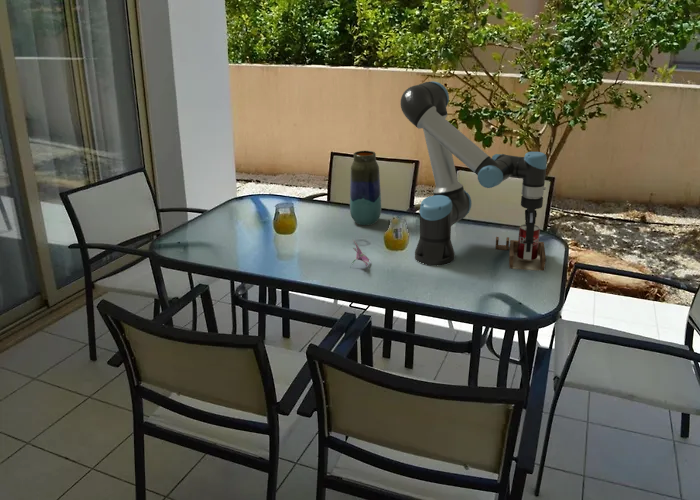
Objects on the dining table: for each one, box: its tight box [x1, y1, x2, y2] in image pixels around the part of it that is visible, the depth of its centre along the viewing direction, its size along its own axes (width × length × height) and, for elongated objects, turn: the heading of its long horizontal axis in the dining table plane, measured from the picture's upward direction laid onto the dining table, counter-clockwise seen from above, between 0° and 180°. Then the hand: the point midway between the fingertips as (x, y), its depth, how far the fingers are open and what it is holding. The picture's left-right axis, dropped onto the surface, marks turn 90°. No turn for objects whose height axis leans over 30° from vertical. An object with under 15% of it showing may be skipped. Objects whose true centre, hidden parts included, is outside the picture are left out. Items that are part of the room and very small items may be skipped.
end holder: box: [508, 239, 547, 272], centre depth 234 cm, size 12×15×5 cm
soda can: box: [517, 224, 541, 261], centre depth 231 cm, size 7×7×12 cm
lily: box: [352, 239, 370, 266], centre depth 233 cm, size 12×12×10 cm
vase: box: [349, 150, 382, 226], centre depth 272 cm, size 14×14×31 cm
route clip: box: [494, 236, 510, 251], centre depth 247 cm, size 5×4×4 cm
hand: (526, 254), depth 232 cm, fingers closed on soda can, 7 cm apart
